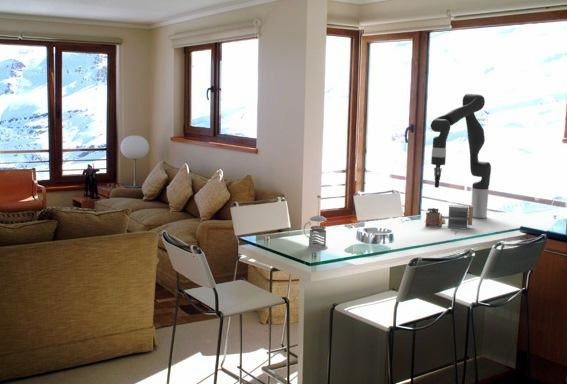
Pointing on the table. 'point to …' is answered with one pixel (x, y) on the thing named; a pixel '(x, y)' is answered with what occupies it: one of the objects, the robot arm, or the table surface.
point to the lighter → (432, 217)
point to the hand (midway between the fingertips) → (436, 187)
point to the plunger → (470, 216)
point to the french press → (312, 243)
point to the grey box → (457, 212)
